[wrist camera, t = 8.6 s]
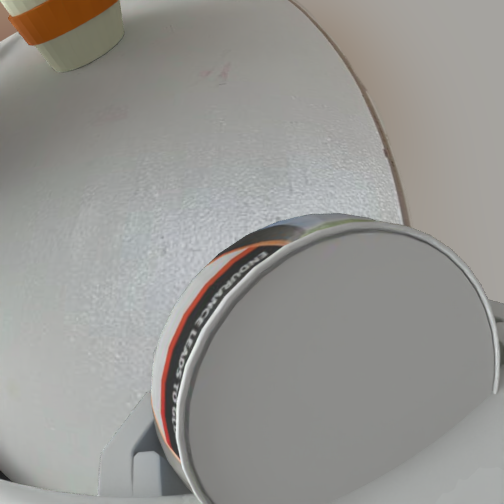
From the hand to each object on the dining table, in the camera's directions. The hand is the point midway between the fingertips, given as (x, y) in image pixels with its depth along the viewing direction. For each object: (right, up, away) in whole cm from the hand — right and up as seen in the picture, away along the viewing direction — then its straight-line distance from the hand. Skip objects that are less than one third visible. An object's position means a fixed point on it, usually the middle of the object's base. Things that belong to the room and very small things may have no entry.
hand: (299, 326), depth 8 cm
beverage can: (0, -3, +6) cm, 7 cm away
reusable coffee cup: (-19, +25, +15) cm, 35 cm away
